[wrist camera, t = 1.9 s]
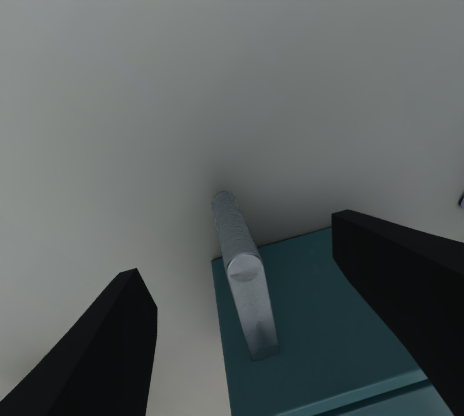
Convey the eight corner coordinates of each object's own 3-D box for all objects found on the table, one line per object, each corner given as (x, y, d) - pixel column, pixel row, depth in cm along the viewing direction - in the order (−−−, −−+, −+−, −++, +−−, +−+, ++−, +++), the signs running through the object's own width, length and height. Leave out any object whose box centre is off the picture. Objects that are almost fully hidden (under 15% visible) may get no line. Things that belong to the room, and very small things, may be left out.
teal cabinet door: (186, 187, 15) (183, 324, 6) (369, 139, 16) (610, 200, 7) (214, 270, 19) (238, 440, 9) (364, 227, 19) (523, 349, 10)
